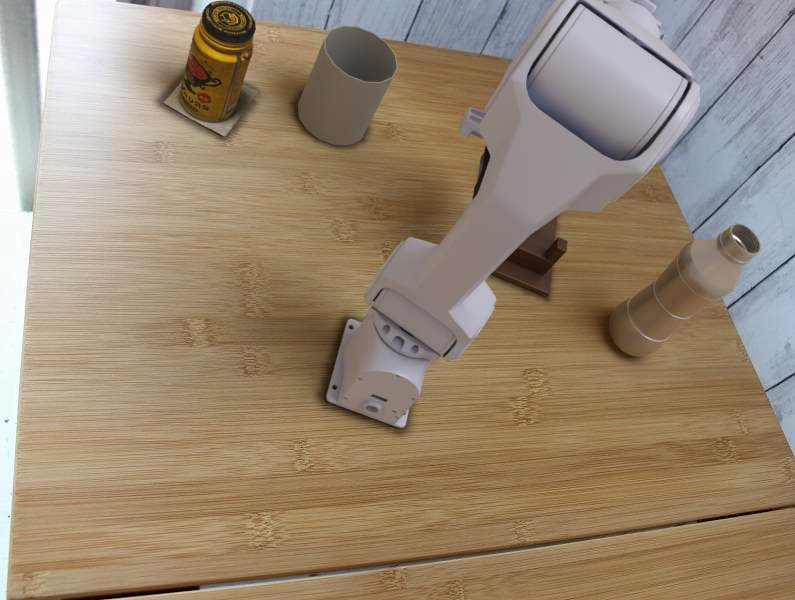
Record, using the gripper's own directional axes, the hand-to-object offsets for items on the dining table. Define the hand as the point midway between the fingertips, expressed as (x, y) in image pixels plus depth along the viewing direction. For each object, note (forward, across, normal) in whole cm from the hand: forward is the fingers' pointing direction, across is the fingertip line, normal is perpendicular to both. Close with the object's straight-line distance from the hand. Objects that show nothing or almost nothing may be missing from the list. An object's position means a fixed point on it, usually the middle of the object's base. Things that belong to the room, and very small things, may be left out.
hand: (492, 200), depth 87 cm
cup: (+9, +18, -11) cm, 23 cm away
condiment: (+9, +31, -6) cm, 33 cm away
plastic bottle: (+9, -22, +3) cm, 24 cm away
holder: (+8, -7, -6) cm, 13 cm away
